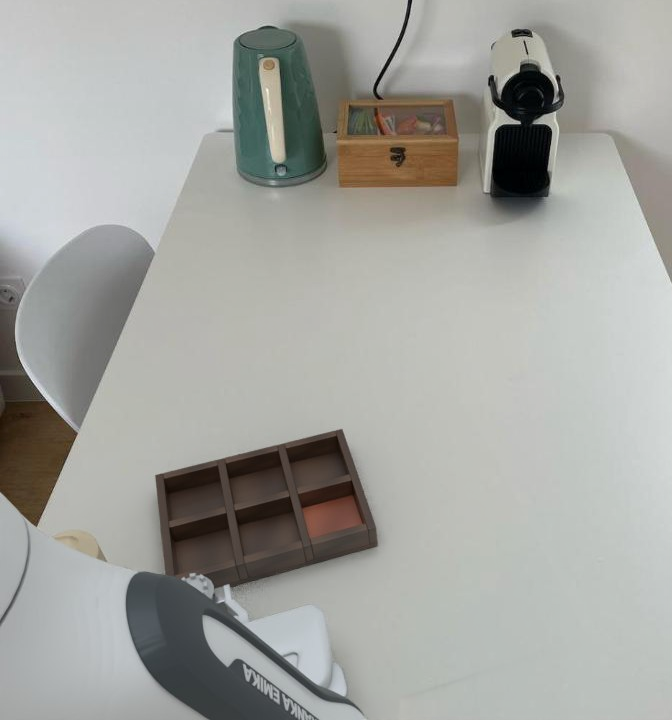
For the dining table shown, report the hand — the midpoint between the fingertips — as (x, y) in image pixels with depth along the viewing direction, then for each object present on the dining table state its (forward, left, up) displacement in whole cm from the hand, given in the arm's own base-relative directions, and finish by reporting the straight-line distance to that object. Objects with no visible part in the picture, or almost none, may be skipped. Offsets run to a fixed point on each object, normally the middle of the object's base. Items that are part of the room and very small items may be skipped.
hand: (197, 596), depth 70 cm
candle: (-10, +5, -5) cm, 12 cm away
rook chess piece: (0, -1, -5) cm, 5 cm away
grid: (+7, +10, -5) cm, 13 cm away
